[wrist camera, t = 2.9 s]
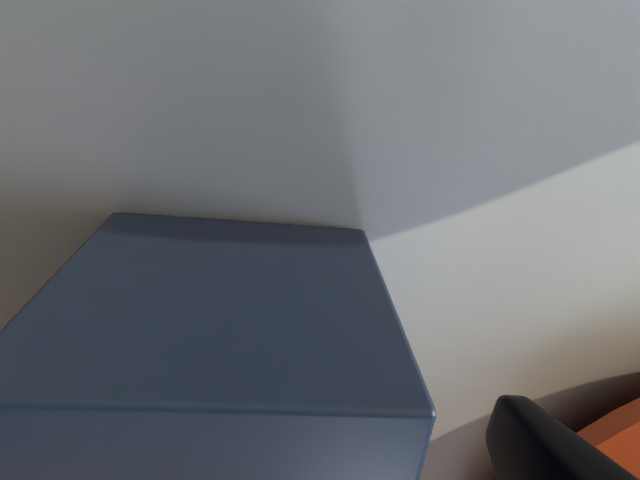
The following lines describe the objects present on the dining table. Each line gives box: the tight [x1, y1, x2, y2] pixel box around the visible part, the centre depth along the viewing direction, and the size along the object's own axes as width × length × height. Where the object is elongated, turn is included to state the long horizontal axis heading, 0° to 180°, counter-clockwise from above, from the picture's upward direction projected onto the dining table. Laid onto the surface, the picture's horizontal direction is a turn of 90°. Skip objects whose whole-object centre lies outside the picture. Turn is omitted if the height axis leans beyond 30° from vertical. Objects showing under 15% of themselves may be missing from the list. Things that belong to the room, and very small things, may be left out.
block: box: [0, 213, 436, 480], centre depth 7 cm, size 5×5×5 cm
